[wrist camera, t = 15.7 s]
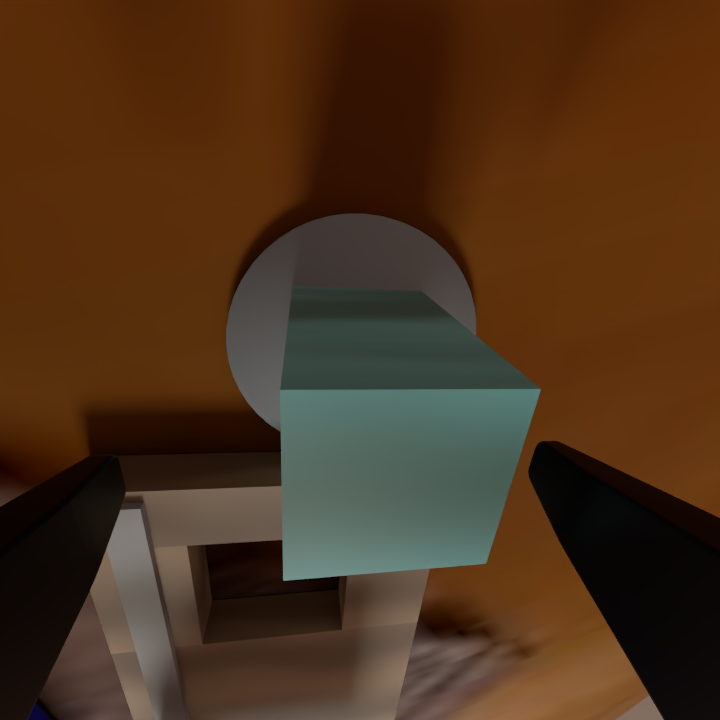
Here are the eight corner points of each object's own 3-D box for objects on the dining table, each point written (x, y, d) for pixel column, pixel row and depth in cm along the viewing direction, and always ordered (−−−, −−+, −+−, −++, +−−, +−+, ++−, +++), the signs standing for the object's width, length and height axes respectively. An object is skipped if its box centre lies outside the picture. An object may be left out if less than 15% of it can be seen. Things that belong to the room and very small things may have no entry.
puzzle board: (89, 456, 14) (52, 501, 12) (434, 447, 16) (453, 485, 14) (170, 751, 24) (157, 804, 22) (379, 720, 26) (386, 765, 24)
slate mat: (219, 201, 11) (215, 202, 11) (493, 224, 13) (501, 225, 12) (236, 442, 15) (234, 452, 14) (446, 438, 16) (451, 446, 16)
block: (292, 285, 12) (279, 389, 6) (421, 291, 13) (541, 389, 6) (292, 402, 14) (283, 581, 7) (405, 401, 14) (485, 563, 8)
